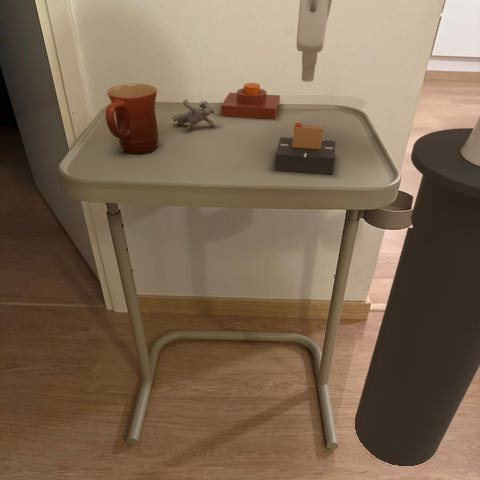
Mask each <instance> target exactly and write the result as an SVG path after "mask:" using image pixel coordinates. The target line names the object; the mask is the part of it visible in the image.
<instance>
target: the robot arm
mask: <svg viewBox="0 0 480 480" xmlns="http://www.w3.org/2000/svg"><path fill="white" fill-rule="evenodd" d="M332 2H333V0H299V8H298V19H297V29H296V50H297V51H298V52H301V81H302V82H307V83H308V82H309V83H310V82H313V81H314V79H315V72H316V71H315V69H316V65H317V62H318V54H319V53H321V52H322V51H323V50H324V44H325V38H326V32H327V23H328V20H329V16H330V11H331V7H332ZM473 128H474V129H473V131H472V133H471V134H470V136H469V138H468V140H467V141H466V143H465V144H464V146H463V147H462V149H461V151H460V153H461V155H462V156H463V157H464V158H465V159H466V160H467V161H469V162H471V163H473V164H475V165H477V166H480V115H479V116H478V118H477V121H476V122H475V125H474V127H473Z"/></svg>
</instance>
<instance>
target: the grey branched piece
mask: <svg viewBox="0 0 480 480" xmlns="http://www.w3.org/2000/svg"><path fill="white" fill-rule="evenodd" d="M182 103H183V106H184V107H185V108H188V111H187V112H181V113H177V114H172V120H173V122H177V125H178V126H182V125H185V124H189V126H188V127H187V129H186V132H188V131H189V130H190V128H191V127H192V126H196V125H198V124H200V123H201V122H203V121H205V122H207V123H208V124H209V125H210V126H211V127H212V128H216V126H217V124H216V123H215V122H214V119H210V118H208V116H209V115H211V114H216V112H215V110H214V109H213V108H212V107H211V104H210V103H209V102H208V100H204V101H203V97H201V99H200V101H199V104H198V106H199V107H200V108H197V107H194V106H191V105H190V104H189V102H188V99H187V98H186V99H183V101H182Z"/></svg>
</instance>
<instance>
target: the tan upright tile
mask: <svg viewBox="0 0 480 480" xmlns="http://www.w3.org/2000/svg"><path fill="white" fill-rule="evenodd" d="M323 134H324V125H315V124H302V122H295V123H294V125H293V131H292V138H293V143H292V147H294V148H308V149H321V143H322V140H323Z"/></svg>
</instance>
